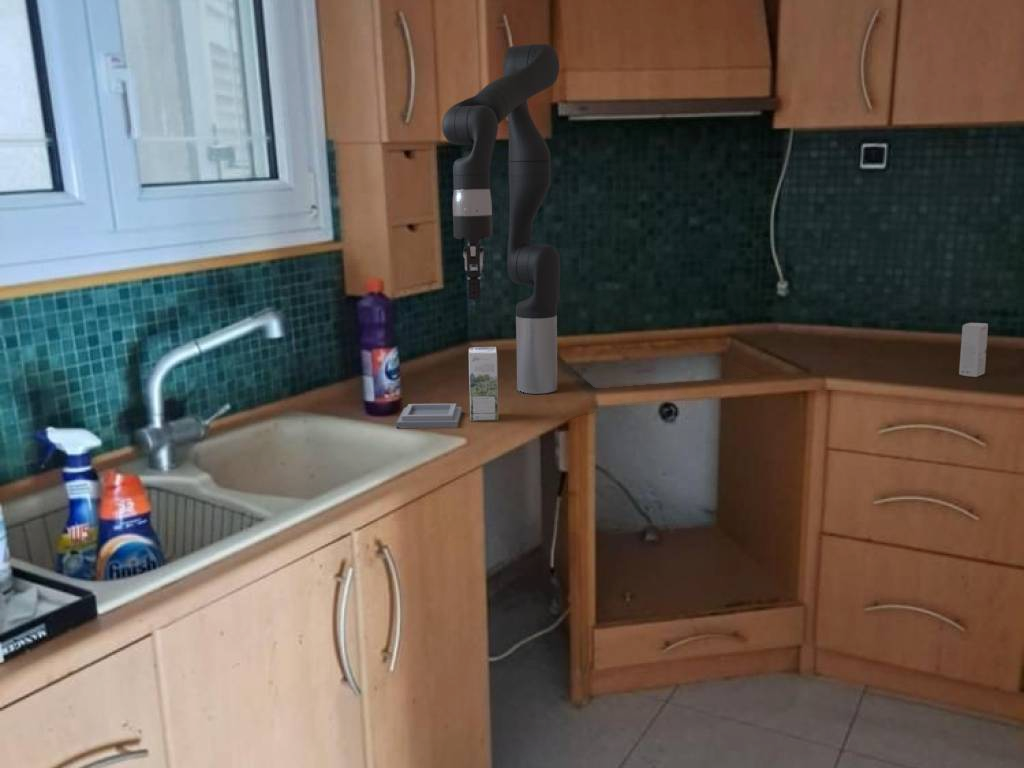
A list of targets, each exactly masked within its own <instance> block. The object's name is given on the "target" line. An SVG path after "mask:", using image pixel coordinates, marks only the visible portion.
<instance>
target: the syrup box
mask: <svg viewBox="0 0 1024 768" xmlns="http://www.w3.org/2000/svg"><path fill="white" fill-rule="evenodd" d="M497 352H498V351H497V347H496V346H480V347H478V346H476V347H473V346H472V347H468V379H469V381H468V382H469V385H468V386H469V414H470V415H469V417H470V422H497V421H499V395H498V391H499V390H498V383H499V382H498V381H499V380H498V353H497Z"/></svg>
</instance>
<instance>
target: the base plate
mask: <svg viewBox="0 0 1024 768" xmlns="http://www.w3.org/2000/svg"><path fill="white" fill-rule="evenodd" d="M462 409H463V408H462V406H457V403H455V402H454V403H408V404H407V406H406V407H404V408H403V409H402V411H401V413H400V415H399V416H398V418H397V420H396V422H395V423H396V428H397V427H408V428H407V429H443V428H445V429H447V428H448V429H449V428H450V429H451V428H453V429H455V428H456V429H458V427H459V423H460V420H461V416H462V413H463V412H462Z"/></svg>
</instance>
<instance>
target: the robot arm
mask: <svg viewBox="0 0 1024 768" xmlns="http://www.w3.org/2000/svg"><path fill="white" fill-rule="evenodd" d="M559 73H560V61H559V56H558V53H557V50H556V49H555V48H554V47H553V46H552V45H550V44H547V43H533V44H532V43H531V44H523V45H522V44H520V45H512V46H510V47H508V49H506V51H505V54H504V58H503V76H501V77H500V78H499V77H498V78H497V79H495V80H493V81H492V82H490V83H488V84H487V85H485V86H484V87H483V88H482V89H481V90H480V91H479V92H477V94H475V95H474V96H471V97H468V98H466V99H464V100H462V101H459V102H457V103H456V104H453V105H452V106H450V107H449V108H448V109H447V111H446V112H445V113H444V116H443V118H442V121H441V131H442V134H443V136H444V137H445V139H446V140H447V141H448V143H450V144H453V145H455V146H462V145H463V146H465V145H473V147H472V150H471V151H470V153H469V155H466V156H464V157H460V158H458V159H456V160H455V161H454V162H453V164H452V177H453V179H452V180H453V195H452V222H453V223H452V224H453V237H454V238H455V239H458V240H466V242H467V244H466V247H463V250H462V253H463V254H462V256H463V258H464V271H466V272H467V273H466V278H467V282H468V283H467V284H468V299H469V300H470V301H472V300H473V301H474V300H475V301H477V300H480V299H481V279H482V270H483V268H484V267H483V266H484V264H483V261H484V259H483V258H484V257H485V256H484V253H485V252H484V250H485V249H484V247H483V246H482V247H481V245H482V244H481V243H480V242H481V241H480V240H481V239H482V240H483V239H490V238H492V237H493V210H492V209H493V206H492V195H491V179H490V178H491V174H490V171H491V170H490V168H491V162H492V159H493V158H492V157H493V151H494V148H495V144H496V141H497V140H496V139H497V136H498V129H499V124H500V123H501V122H502V121H503V120H504V119H505V118H507V125H508V126H507V127H508V131H507V132H508V184H509V185H508V186H509V227H508V242H507V256H506V257H507V258H506V259H507V261H506V262H507V263H506V264H507V270H508V272H507V273H508V276H509V278H510V281H512V282H513V283H515V284H516V285H521V286H533V292H532V295H531V296H530V297H529V298H527V299H524V300H522V301H519V302H517V304H515V329H516V332H515V333H516V336H515V337H516V390H517V391H518V392H520V391H521V392H520V393H523V392H524V394H532V395H533V394H535V395H536V394H548V393H549V394H550V393H554V392H556V391H557V390H558V328H557V327H558V325H557V323H558V321H557V320H558V318H557V315H558V314H557V313H558V311H557V309H558V305H559V301H560V283H561V260H560V254H559V251H558V249H557V248H556V247H554V246H553V245H552V244H545V243H544V244H542V243H541V244H538V243H537V244H536V243H533V241H532V240H533V238H532V235H533V226H534V225H533V224H534V221H535V218H536V215H537V213H538V212H539V211H538V210H539V209H540V207H541V205H542V203H543V202H544V200H545V198H546V196H547V194H548V192H549V189H550V186H551V179H552V176H551V174H552V170H551V167H552V166H551V165H552V163H551V162H552V161H551V157H552V156H551V152H550V148H549V146H548V144H547V142H546V140H545V139H544V137H543V135H542V133H541V132H540V131H539V128H538V127H537V126H536V124H535V122H534V120H533V118H532V116H531V114H530V110H529V104H528V100H529V99H531V98H532V97H534V96H536V95H537V94H539V93H541V92H544V91H545V90H547V89H549V88H551V87H553V85H554V84H555V83H556V81H557V80H558V77H559Z"/></svg>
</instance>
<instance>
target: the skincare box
mask: <svg viewBox="0 0 1024 768" xmlns="http://www.w3.org/2000/svg"><path fill="white" fill-rule="evenodd" d="M961 330H962V331H961V340H960V341H961V343H960V357H959V369H958V375H960V376H963V377H964V376H965V377H970V378H971V377H973V378H977V377H981V376H982V375H984V374H985V373H986V364H987V363H986V360H987V359H986V358H987V348H988V347H987V346H988V345H987V344H988V333H989V332H988V330H989V324H988V323H985V322H984V323H983V322H968V323H965V324H963V325H962V329H961Z"/></svg>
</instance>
